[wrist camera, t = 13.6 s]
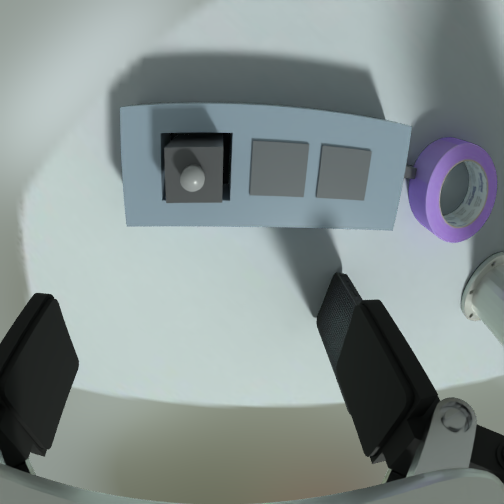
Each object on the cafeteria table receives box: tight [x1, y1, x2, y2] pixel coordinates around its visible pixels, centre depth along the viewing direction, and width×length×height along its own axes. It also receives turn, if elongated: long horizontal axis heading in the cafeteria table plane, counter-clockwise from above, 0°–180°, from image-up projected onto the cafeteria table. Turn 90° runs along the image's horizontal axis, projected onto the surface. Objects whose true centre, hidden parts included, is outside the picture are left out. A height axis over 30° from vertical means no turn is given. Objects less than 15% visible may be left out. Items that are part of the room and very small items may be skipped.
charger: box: [164, 133, 223, 203], centre depth 24 cm, size 4×4×9 cm
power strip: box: [120, 102, 417, 231], centre depth 27 cm, size 28×10×5 cm, turn 87°
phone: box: [317, 273, 363, 414], centre depth 31 cm, size 8×1×15 cm, turn 168°
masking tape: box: [408, 137, 497, 243], centre depth 30 cm, size 12×12×4 cm
